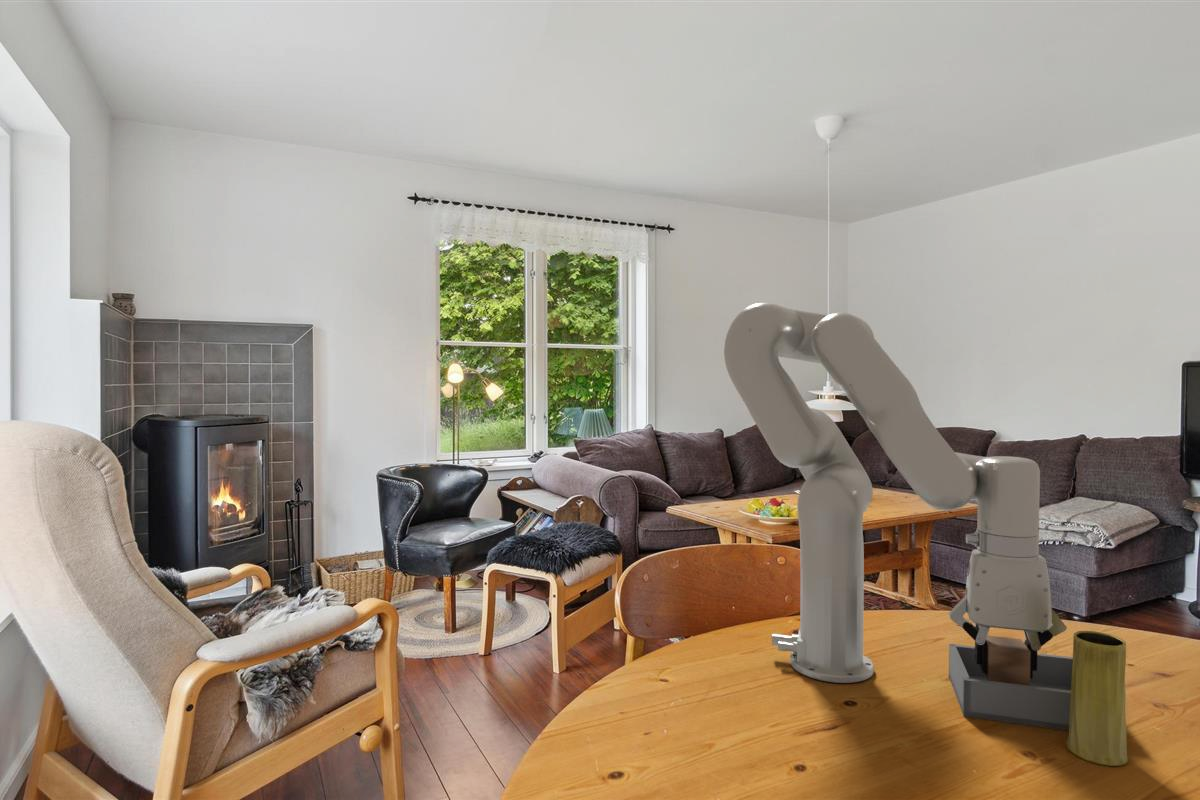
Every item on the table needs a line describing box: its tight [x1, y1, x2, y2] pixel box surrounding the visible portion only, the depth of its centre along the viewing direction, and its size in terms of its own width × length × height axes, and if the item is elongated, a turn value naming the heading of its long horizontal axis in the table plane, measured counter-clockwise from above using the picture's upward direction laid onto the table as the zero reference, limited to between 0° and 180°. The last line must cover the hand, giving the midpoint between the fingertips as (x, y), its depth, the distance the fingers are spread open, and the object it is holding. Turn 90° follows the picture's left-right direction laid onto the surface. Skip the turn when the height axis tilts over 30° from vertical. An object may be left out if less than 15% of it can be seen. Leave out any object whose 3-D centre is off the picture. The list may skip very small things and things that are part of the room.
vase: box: [1066, 630, 1129, 767], centre depth 85 cm, size 6×6×14 cm
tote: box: [948, 643, 1073, 732], centre depth 98 cm, size 18×14×5 cm
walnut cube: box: [984, 635, 1031, 686], centre depth 99 cm, size 5×5×5 cm
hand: (1005, 670), depth 99 cm, fingers closed on walnut cube, 4 cm apart
